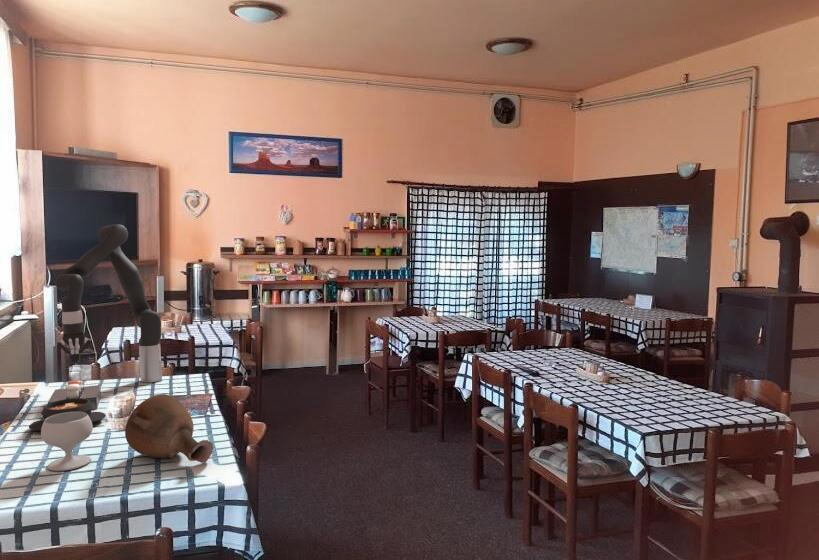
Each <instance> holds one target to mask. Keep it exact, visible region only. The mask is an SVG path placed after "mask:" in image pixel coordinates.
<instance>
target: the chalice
mask: <svg viewBox="0 0 819 560" xmlns="http://www.w3.org/2000/svg"><path fill="white" fill-rule="evenodd" d="M93 427H94V425H93V422H91V419H90V417H89V416H88V414H87V413H85V412H65V413H60V414H56V415H52V416H50V417H48V418H46V419H45V421H44V423H43V425H42V429H41V430H40V437H41V440H42V441H43V442H44V443H45V444H47V445H48V446H51V447H56V448H58V449H61V450H62V451H64V453H65V457H60V458H58V459H55V460H53V461H51V462H50V463H48V465H47V466H46V468H47V470H49V471H54V472H64V471H70V470H76V469H78V468H81V467H84V466H86V465H88V464H90V463H91V462H92V458H91V457H90V456H88V455H83V454H82V455H81V454H80V455H78V454H77V455H73V451H74V449H75V447H76V446H77V445H79V444H80V443H83V442H84V441H86V439H88V438H89V437H90V436H91V435H92V432H93V430H94V429H93Z"/></svg>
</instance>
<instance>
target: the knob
mask: <svg viewBox="0 0 819 560" xmlns="http://www.w3.org/2000/svg"><path fill="white" fill-rule="evenodd" d="M78 388H80V385H79V384H69V385H68V384H67V385H65V386H64V389H66V390H67V399H72V398H79V392H78Z"/></svg>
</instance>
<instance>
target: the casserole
mask: <svg viewBox="0 0 819 560" xmlns="http://www.w3.org/2000/svg"><path fill="white" fill-rule="evenodd" d="M92 408H93V405H92V404H91V402H90V400H88V399H83V398H72V399H64V400H59V401H55V402H52V403H49V404H48V403H47V404H45V405H44V406H43V408H42V411H41V412H40V414H41V416H43V419H39V420H36V421H33V422H31V424H29V426H28V428H29V430H31V431H41V429H42V425H43V423H44V421H45V419H46V418H48V417H50V416H52V415H56V414H60V413H65V412H85V413H87V414H88V416H89V417H90V419H91V422H92V423H96V422H100V421H102V420H104V419H105V418H106V416H107V415H106V413H105V412H102V411H92V410H91V409H92Z"/></svg>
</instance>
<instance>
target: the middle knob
mask: <svg viewBox="0 0 819 560" xmlns="http://www.w3.org/2000/svg"><path fill="white" fill-rule="evenodd" d="M82 383H83V382H82V380H81V379H72V380H68V381H67V385H69V384H79V385H80V384H82ZM78 392H79V394H81V388H78Z"/></svg>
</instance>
